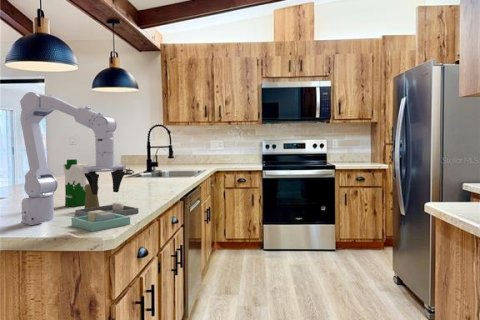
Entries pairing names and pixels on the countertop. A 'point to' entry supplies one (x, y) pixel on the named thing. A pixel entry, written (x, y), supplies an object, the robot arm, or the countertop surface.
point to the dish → (100, 223)
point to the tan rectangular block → (93, 215)
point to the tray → (107, 210)
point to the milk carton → (75, 183)
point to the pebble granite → (117, 207)
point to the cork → (90, 198)
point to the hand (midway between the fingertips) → (105, 193)
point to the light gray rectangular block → (104, 216)
